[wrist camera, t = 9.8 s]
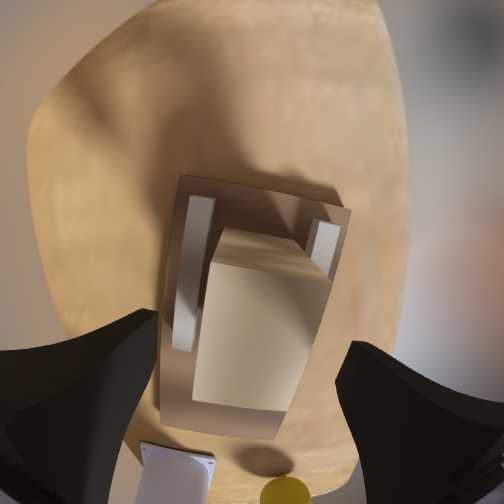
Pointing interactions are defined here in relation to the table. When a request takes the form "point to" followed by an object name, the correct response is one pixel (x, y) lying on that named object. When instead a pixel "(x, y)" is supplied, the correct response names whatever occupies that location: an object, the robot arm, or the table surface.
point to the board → (196, 278)
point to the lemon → (285, 492)
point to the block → (257, 321)
